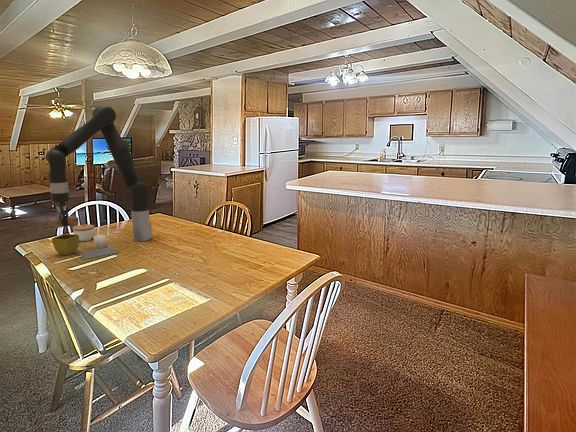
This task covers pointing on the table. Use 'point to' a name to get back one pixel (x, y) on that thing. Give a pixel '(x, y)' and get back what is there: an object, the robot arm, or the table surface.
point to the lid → (58, 222)
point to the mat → (98, 252)
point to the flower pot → (66, 243)
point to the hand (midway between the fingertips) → (63, 224)
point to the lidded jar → (84, 232)
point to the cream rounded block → (100, 241)
